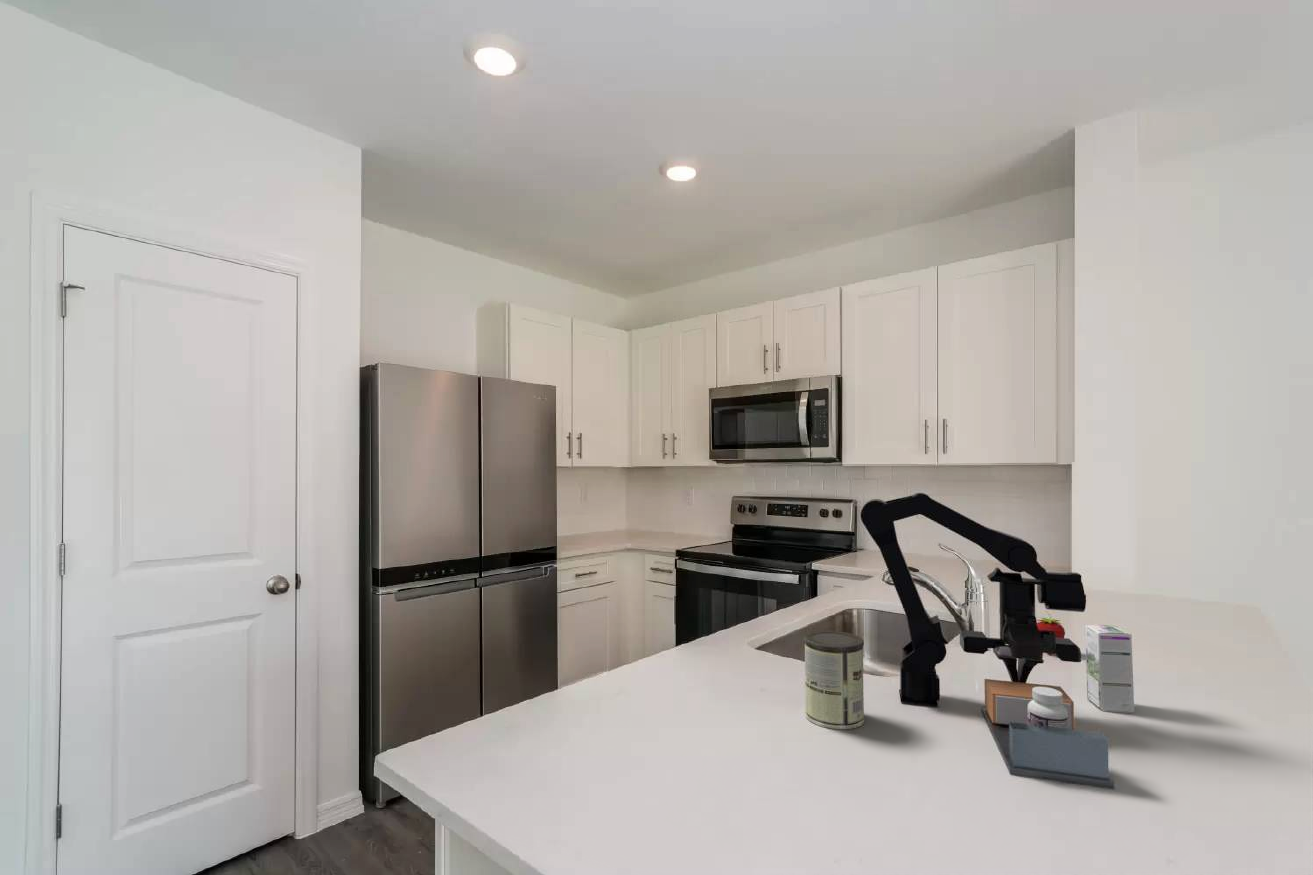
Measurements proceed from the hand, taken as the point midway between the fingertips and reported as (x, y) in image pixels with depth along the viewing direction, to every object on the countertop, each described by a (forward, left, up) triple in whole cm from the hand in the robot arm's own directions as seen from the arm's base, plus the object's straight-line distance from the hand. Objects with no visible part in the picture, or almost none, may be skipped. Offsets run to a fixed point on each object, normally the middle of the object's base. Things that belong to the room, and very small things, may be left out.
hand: (1018, 692), depth 116 cm
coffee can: (-32, -13, -4) cm, 35 cm away
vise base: (0, -14, -3) cm, 15 cm away
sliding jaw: (0, -7, -2) cm, 7 cm away
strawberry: (+15, +42, -4) cm, 45 cm away
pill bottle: (0, -20, -3) cm, 20 cm away
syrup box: (+17, +9, -4) cm, 19 cm away
